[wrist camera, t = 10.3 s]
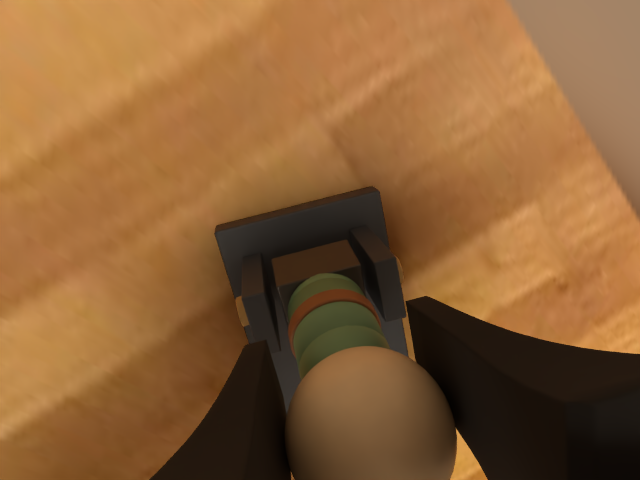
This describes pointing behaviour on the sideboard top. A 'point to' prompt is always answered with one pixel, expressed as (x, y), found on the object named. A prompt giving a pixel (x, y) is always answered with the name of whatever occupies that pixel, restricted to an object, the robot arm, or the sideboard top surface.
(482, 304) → the sideboard top surface
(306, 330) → the peg doll
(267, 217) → the toy stand
